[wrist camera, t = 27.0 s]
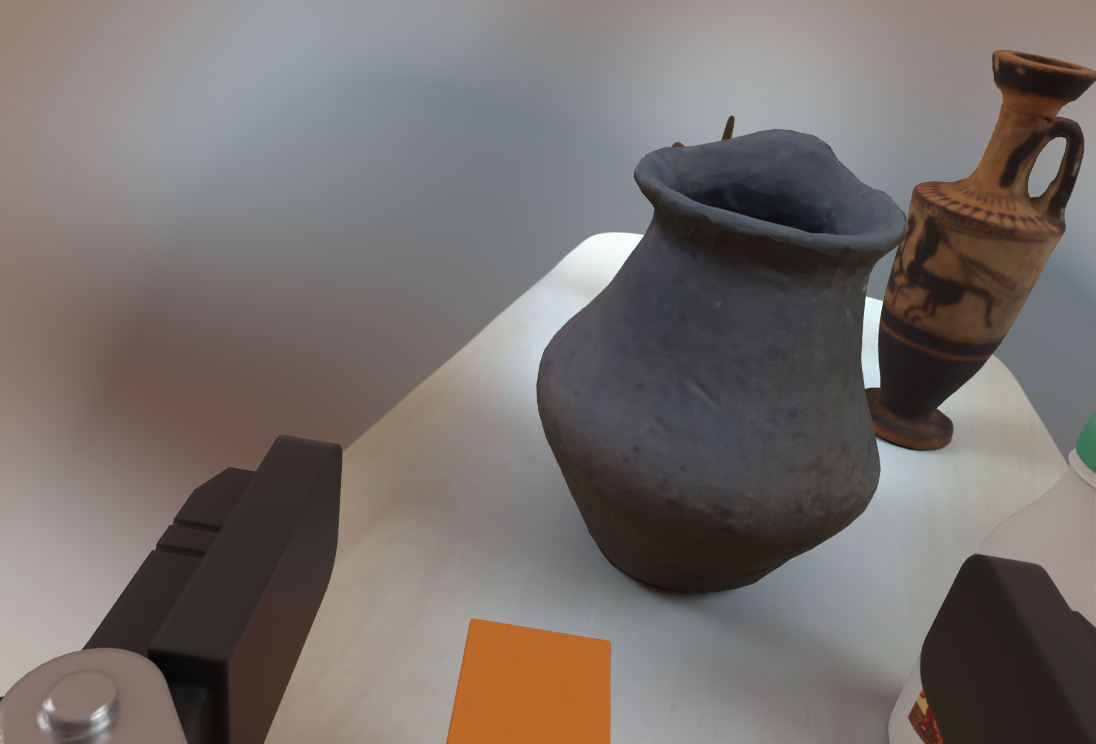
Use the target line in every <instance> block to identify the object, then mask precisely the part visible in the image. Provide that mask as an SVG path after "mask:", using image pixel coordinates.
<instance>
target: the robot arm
mask: <svg viewBox="0 0 1096 744" xmlns="http://www.w3.org/2000/svg"><path fill="white" fill-rule="evenodd" d="M341 473H342V448H341V446H340V445H339V444H333V443H327V442H321V441H316V440H309V439H303V438H297V437H291V436H286V435H280V436H279V437H278V438H277V439H276V440H275V442H274V444H273V445H272V447H271V448H270V450H269V452H268V453H267V455H266V456H265V458H264V460H263V461H262V463H261V465H260V466H259V468H258V470H257V471H256V472H254V471H248V470H242V469H236V468H230V467H229V468H227V469H226V470H224V471H223V472H221V473H220V474H218V475H216V476H215V477H214V478H212V479H210V480H209V481H207V482H206V483H204V484H203V485H201V486H200V487H198V488H197V489H195V490H194V491H193V493H192V494H191V495H190V497H189V498H188V500H187V501H186V503H185V504H184V505H183V507H182V508H181V510H180V511H179V513H178V514H177V515H176V517H175V518H174V522H173V525H169V527H168V528H167V530H166V531H165V533H164V534H163V536H162V537H161V538H160V540H159V541H158V543H157V546H156V549H155V551H154V550H152V551H151V553H150V554H149V555H148V557H147V558H146V560H145V561H144V563H143V564H142V565H141V567H140V568H139V570H138V571H137V573H136V574H135V575H134V577H133V578H132V580H131V581H130V583H129V584H128V585H127V587H126V588H125V590H124V591H123V592H122V594H121V595H120V597H119V598H118V600H117V601H116V603H115V604H114V605H113V607H112V608H111V610H110V611H109V612H108V614H107V615H106V617H105V618H104V620H103V621H102V623H101V624H100V625H99V627H98V628H97V630H96V631H95V633H94V634H93V635H92V637H91V638H90V640H89V641H88V642H87V644H86V645H85V646H84V648H83V649H82V650H80V651H77V652H72V653H68V654H65V655H62V656H60V657H57V658H54V659H52V660H50V661H48V662H46V663H44V664H42V665H40V666H38V667H37V668H35V669H34V670H32V671H30V672H29V673H27V674H26V675H25V676H24V677H22V678H21V679H20V680H19V681H18V682H16V683H15V685H14V686H12V688H11V689H10V690H9V691H8V692H7V693H6V694H5V696H3V697H0V744H264V741H265V739H266V736H267V734H268V731H269V729H270V727H271V724H272V722H273V719H274V717H275V714H276V712H277V709H278V707H279V705H280V702H281V700H282V697H283V695H284V692H285V690H286V687H287V685H288V683H289V680H290V678H291V675H292V673H293V670H294V668H295V666H296V663H297V661H298V658H299V656H300V653H301V651H302V648H303V646H304V644H305V641H306V639H307V636H308V634H309V631H310V629H311V627H312V624H313V622H314V619H315V617H316V614H317V612H318V609H319V607H320V605H321V602H322V600H323V597H324V595H325V592H326V590H327V587H328V584H329V581H330V578H331V574H332V570H333V566H334V561H335V556H336V550H337V542H338V527H339V509H340V491H341ZM920 677H921V683H922V688H923V691H924V694H925V696H926V699H927V701H928V704H929V706H930V709H931V711H932V714H933V717H934V719H935V722H936V724H937V727H938V729H939V732H940V734H941V737H942V740H943V742H944V744H1096V627H1095V626H1094V625H1093V624H1091V623H1090V622H1089V621H1088V620H1087V619H1086V618H1085V617H1084V616H1083V615H1082V614H1080V613H1079V612H1078V611H1073V610H1071V609H1070V607H1069V605H1068V604H1067V602H1066V601H1065V599H1064V598H1063V596H1062V595H1061V593H1060V591H1059V590H1058V588H1057V587H1056V585H1055V584H1054V582H1053V580H1052V579H1051V577H1050V576H1049V574H1048V573H1047V572H1046V570H1045V569H1044V568H1043V567H1042V566H1040V565H1038V564H1035V563H1030V562H1024V561H1018V560H1012V559H1006V558H1000V557H994V556H988V555H982V554H974V555H972V556H970V557H969V558H968V559H967V560H966V561H965V562H964V563H963V565H962V567H961V569H960V570H959V572H958V574H957V576H956V578H955V580H954V582H953V584H952V586H951V588H950V590H949V592H948V594H947V596H946V598H945V600H944V602H943V604H942V606H941V608H940V610H939V612H938V614H937V616H936V618H935V620H934V622H933V624H932V626H931V628H930V630H929V632H928V634H927V636H926V638H925V641H924V643H923V647H922V651H921V657H920Z"/></svg>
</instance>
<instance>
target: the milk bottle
mask: <svg viewBox="0 0 1096 744" xmlns="http://www.w3.org/2000/svg"><path fill="white" fill-rule="evenodd" d="M1069 462H1070V465H1071V466H1070V468H1069V470H1068V471H1067V473H1066V474H1065V475H1064V476H1063V477H1062V478H1061V479H1060V480H1059V481H1058V482H1057V483H1056V484H1055V485H1054V486H1053V487H1052V488H1051V489H1050V490H1049V491H1047V492H1046V493H1045V494H1044V495H1043V496H1041V497H1040V498H1038V499H1037V500H1036V501H1034V502H1033V503H1031V504H1030V505H1028V506H1026V507H1025V508H1023V509H1022V510H1020V511H1018V512H1017V513H1015V514H1014V515H1012V516H1011V517H1009V518H1008V519H1007V520H1005V521H1004V522H1003V523H1002V524H1001V525H999V526H998V527H997V528H996V529H995V530H994V531H993V532H992V533H991V534H990V535H989V536H988V537H987V538H986V539H985V541H984V542H983V543H982V545H981V546H980V547H979V549H978V550H977V551H976V553H975V554H982V555H988V556H994V557H1000V558H1006V559H1012V560H1018V561H1024V562H1030V563H1035V564H1038V565H1040V566H1042V567H1043V568H1044V569H1045V570H1046V572H1047V573H1048V574H1049V576H1050V577H1051V579H1052V580H1053V582H1054V584H1055V585H1056V587H1057V588H1058V590H1059V591H1060V593H1061V595H1062V596H1063V598H1064V599H1065V601H1066V602H1067V604H1068V605H1069V607H1070V609H1071V610H1073V611H1078V612H1079V613H1080V614H1082V615H1083V616H1084V617H1085V618H1086V619H1087V620H1088V621H1089V622H1090V623H1091V624H1093V625H1094V626H1095V627H1096V414H1094V415H1093V416H1092V417H1091V418H1090V419H1089V420H1088V421H1087V423H1086V424H1085V426H1084V428H1083V429H1082V431H1081V433H1080V435H1079V437H1078V439H1077V442H1076V447H1075V449H1074V450H1072V451H1071V452H1070V454H1069ZM920 657H921V654H920V656H919V658H918V660H917V662H916V664H915V666H914V668H913V670H912V672H911V674H910V676H909V678H908V680H907V682H906V684H905V686H904V688H903V690H902V692H901V694H900V696H899V698H898V700H897V702H896V704H895V707H894V709H893V711H892V713H891V716H890V719H889V724H888V733H889V742H890V744H944V742H943V740H942V737H941V734H940V732H939V729H938V727H937V724H936V722H935V719H934V717H933V714H932V711H931V709H930V706H929V704H928V701H927V699H926V696H925V694H924V691H923V688H922V683H921V677H920Z"/></svg>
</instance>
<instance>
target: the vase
mask: <svg viewBox="0 0 1096 744" xmlns="http://www.w3.org/2000/svg"><path fill="white" fill-rule="evenodd" d="M992 59H993V60H992V61H993V67H992V68H993V73H994V81H995V84H996V86H997V87H998V88H999V89H1000V90H1001V92H1002V94H1003V104H1002V106H1001V110H1000V115H999V119H998V122H997V124H996V126H995V129H994V131H993V134H992V137H991V140H990V142H989V144H988V146H987V149H986V151H985V153H984V156H983V158H982V160H981V162H980V164H979V166H978V167H977V168H976V170H975V171H974V172H973V173H972V174H971V175H970V176H969V177H968V178H965V179H962V180H959V181H956V182H936V181H935V182H924V183H920V184H918V185H917V186H915V188H914V190H913V193H912V198H911V202H910V207H909V211H908V215H907V220H906V229H907V231H906V233H905V235H904V237H903V239H902V242H901V243H900V244H899V246H898V249H897V253H896V256H895V260H894V263H893V266H892V270H891V274H890V277H889V281H888V284H887V288H886V292H885V297H884V301H883V306H882V311H881V317H880V324H879V335H878V356H879V369H880V388H867V389H865V394H866V397H867V401H868V405H869V409H870V413H871V417H872V421H873V426H874V431H875V435H877V436H879V437H881V438H883V439H885V440H887V441H890V442H892V443H894V444H897V445H900V446H904V447H908V448H914V449H921V450H931V449H940V448H943V447H945V446H946V445H948V444H949V443H950V442H951V438H952V435H953V424H952V421H951V420H950V419H949V418H948V417H947V416H945V415H944V414H943V413H942V412H940V411H939V410H938V409H937V407H938V406H939V405H941V404H942V403H943V402H944V401H945V400H946V399H947V398H948V397H949V396H950V395H952V394H953V393H954V392H956V391H957V390H958V389H959V388H960V387H961V386H962V385H964V384H965V383H966V382H967V381H968V380H969V379H971V378H972V377H973V376H974V375H975V374H976V373H977V372H978V371H979V370H980V369H981V368H982V366H983V365H984V364H985V363H986V361H987V360H988V359H989V358H990V356H991V355H992V354H993V353H994V351H995V350H996V349H997V347H998V346H999V345H1000V343H1001V341H1002V340H1003V338H1004V337H1005V336H1006V334H1007V332H1008V331H1009V330H1010V328H1011V326H1012V325H1013V323H1014V321H1015V319H1016V318H1017V316H1018V314H1019V312H1020V311H1021V309H1022V307H1023V305H1024V303H1025V301H1026V300H1027V298H1028V296H1029V294H1030V292H1031V291H1032V289H1033V287H1034V285H1035V283H1036V281H1037V280H1038V278H1039V276H1040V274H1041V272H1042V270H1043V268H1044V266H1045V264H1046V262H1047V261H1048V258H1049V256H1050V255H1051V253H1052V251H1053V250H1054V248H1055V247H1056V245H1057V243H1058V242H1059V240H1060V239H1061V237H1062V236H1063V234H1064V232H1065V229H1066V225H1065V220H1064V213H1065V208H1066V205H1067V202H1068V200H1069V198H1070V196H1071V193H1072V191H1073V188H1074V185H1075V182H1076V179H1077V176H1078V173H1079V170H1080V166H1081V162H1082V158H1083V153H1084V137H1083V133H1082V130H1081V128H1080V126H1079V125H1078V123H1077V122H1075V121H1073V120H1071V119H1067V118H1063V117H1055V116H1056V115H1057V113H1058V112H1059V111H1060V109H1061V108H1062V107H1063V106H1064V105H1066V104H1067V103H1069V102H1071V101H1075V100H1076V99H1077V98H1078V97H1080V96H1081V95H1082V94H1083V92H1085V91H1086V90H1087V89H1088V88H1089V87H1090V86H1091V85H1092V84H1093V83H1094V82H1095V81H1096V71H1094V70H1091V69H1089V68H1086V67H1083V66H1080V65H1076V64H1073V63H1069V62H1065V61H1061V60H1057V59H1052V58H1048V57H1044V56H1039V55H1033V54H1029V53H1023V52H1017V51H1008V50H999V51H995V52H994V53H993V58H992ZM1056 137H1063V138H1066V141H1067V144H1066V149H1065V153H1064V156H1063V158H1062V161H1061V165H1060V168H1059V171H1058V174H1057V176H1056V178H1055V179H1054V180H1053V181H1052V182H1051V183H1050V185H1049V186H1048V188H1047V189H1046V191H1045V192H1044V193H1043V194H1042V195H1041V196H1040V197H1033V198H1030V197H1029V194H1028V179H1029V175H1030V173H1031V170H1032V168H1033V166H1034V163H1035V161H1036V159H1037V157H1038V155H1039V153H1040V152H1041V151H1042V149H1043V148H1044V147H1045V146H1046V144H1047V143H1048V142H1049V141H1051V140H1053V139H1054V138H1056Z"/></svg>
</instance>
